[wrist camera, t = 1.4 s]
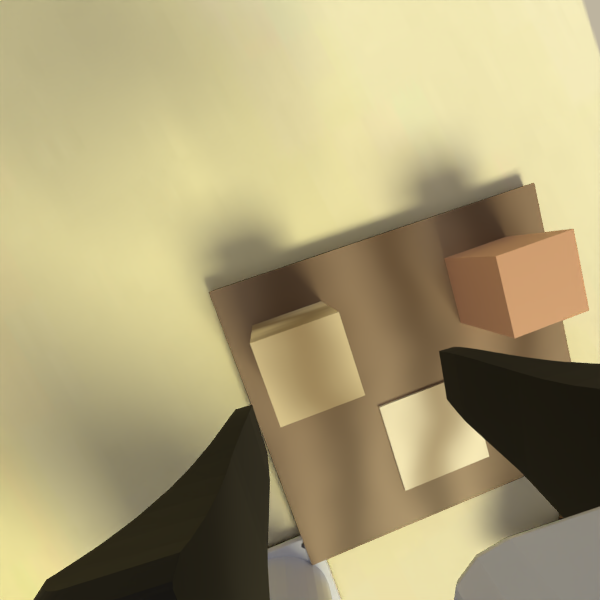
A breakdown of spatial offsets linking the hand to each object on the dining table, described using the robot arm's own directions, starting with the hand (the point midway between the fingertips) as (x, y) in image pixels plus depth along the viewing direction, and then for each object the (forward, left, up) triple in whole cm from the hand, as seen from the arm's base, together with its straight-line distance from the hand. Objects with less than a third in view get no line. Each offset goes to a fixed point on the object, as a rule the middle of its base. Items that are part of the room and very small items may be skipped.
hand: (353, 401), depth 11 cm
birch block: (-1, 0, -9) cm, 8 cm away
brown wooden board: (+6, -5, -9) cm, 12 cm away
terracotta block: (+12, 0, -9) cm, 15 cm away
